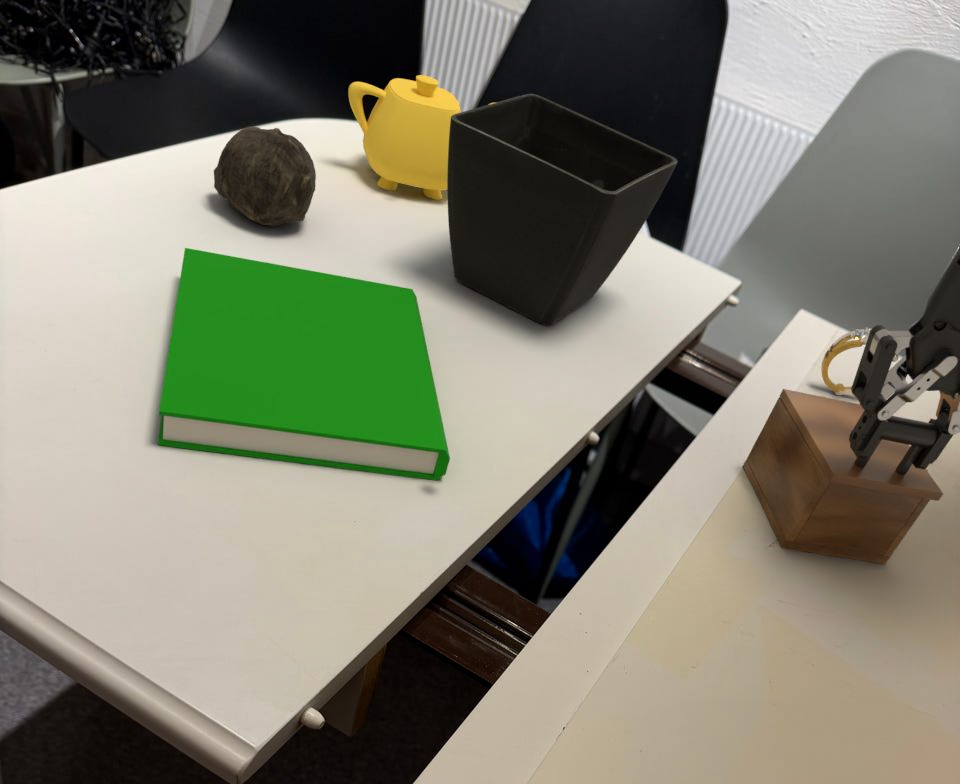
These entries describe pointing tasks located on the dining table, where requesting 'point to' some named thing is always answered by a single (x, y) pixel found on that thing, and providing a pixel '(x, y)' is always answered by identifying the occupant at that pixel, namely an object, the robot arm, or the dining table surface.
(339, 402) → the book
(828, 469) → the lid
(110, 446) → the dining table surface
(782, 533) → the open wooden box
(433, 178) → the teapot
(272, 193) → the rock
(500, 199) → the flower pot
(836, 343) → the ring
